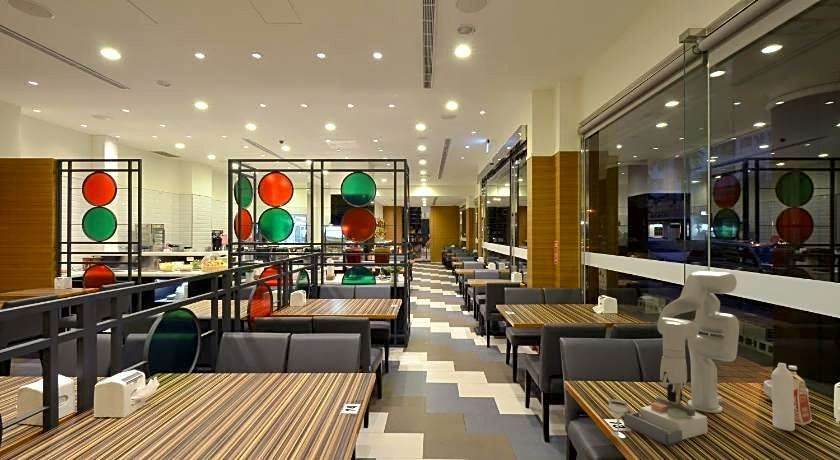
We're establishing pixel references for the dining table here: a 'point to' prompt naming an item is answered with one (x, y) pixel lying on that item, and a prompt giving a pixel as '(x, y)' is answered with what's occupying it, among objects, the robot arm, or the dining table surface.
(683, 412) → the green tile
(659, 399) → the scraper
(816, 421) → the dining table surface
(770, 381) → the paper bowls
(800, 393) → the milk carton
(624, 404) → the wineglass
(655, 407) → the terracotta tile
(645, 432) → the tray
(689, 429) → the white flat square block
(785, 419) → the water bottle
